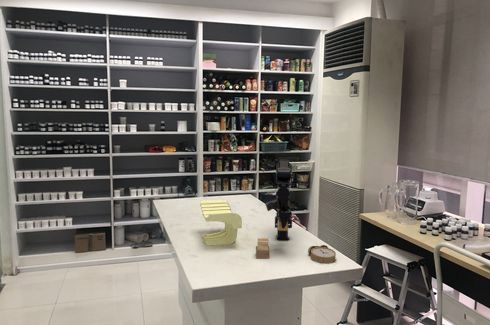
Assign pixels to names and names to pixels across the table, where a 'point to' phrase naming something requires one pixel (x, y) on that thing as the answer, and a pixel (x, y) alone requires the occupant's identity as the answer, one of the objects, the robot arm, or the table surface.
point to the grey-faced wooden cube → (281, 225)
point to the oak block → (262, 244)
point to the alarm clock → (322, 254)
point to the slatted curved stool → (221, 213)
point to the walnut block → (262, 254)
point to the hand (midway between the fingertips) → (282, 227)
